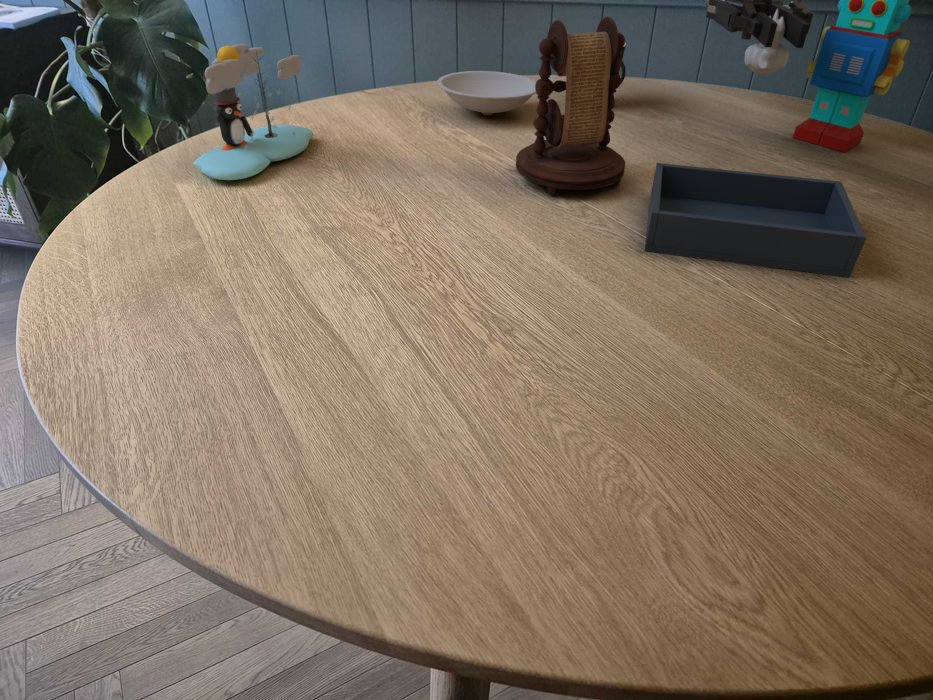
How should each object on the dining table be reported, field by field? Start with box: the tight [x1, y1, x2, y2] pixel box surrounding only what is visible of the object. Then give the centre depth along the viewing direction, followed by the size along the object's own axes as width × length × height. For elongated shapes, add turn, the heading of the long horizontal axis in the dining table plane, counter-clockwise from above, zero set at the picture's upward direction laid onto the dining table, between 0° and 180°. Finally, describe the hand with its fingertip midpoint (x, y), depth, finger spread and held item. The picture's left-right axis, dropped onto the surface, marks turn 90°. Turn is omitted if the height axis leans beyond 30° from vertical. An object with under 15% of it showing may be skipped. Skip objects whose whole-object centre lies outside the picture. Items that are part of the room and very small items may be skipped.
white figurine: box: [743, 9, 790, 75], centre depth 87 cm, size 5×7×8 cm
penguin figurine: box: [192, 43, 314, 181], centre depth 91 cm, size 20×11×15 cm, turn 152°
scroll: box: [515, 16, 626, 197], centre depth 85 cm, size 15×15×20 cm
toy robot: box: [792, 0, 912, 153], centre depth 95 cm, size 12×6×25 cm, turn 42°
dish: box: [436, 70, 537, 116], centre depth 111 cm, size 18×14×5 cm
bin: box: [644, 162, 867, 278], centre depth 77 cm, size 22×15×5 cm
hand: (787, 35), depth 82 cm, fingers closed on white figurine, 3 cm apart
